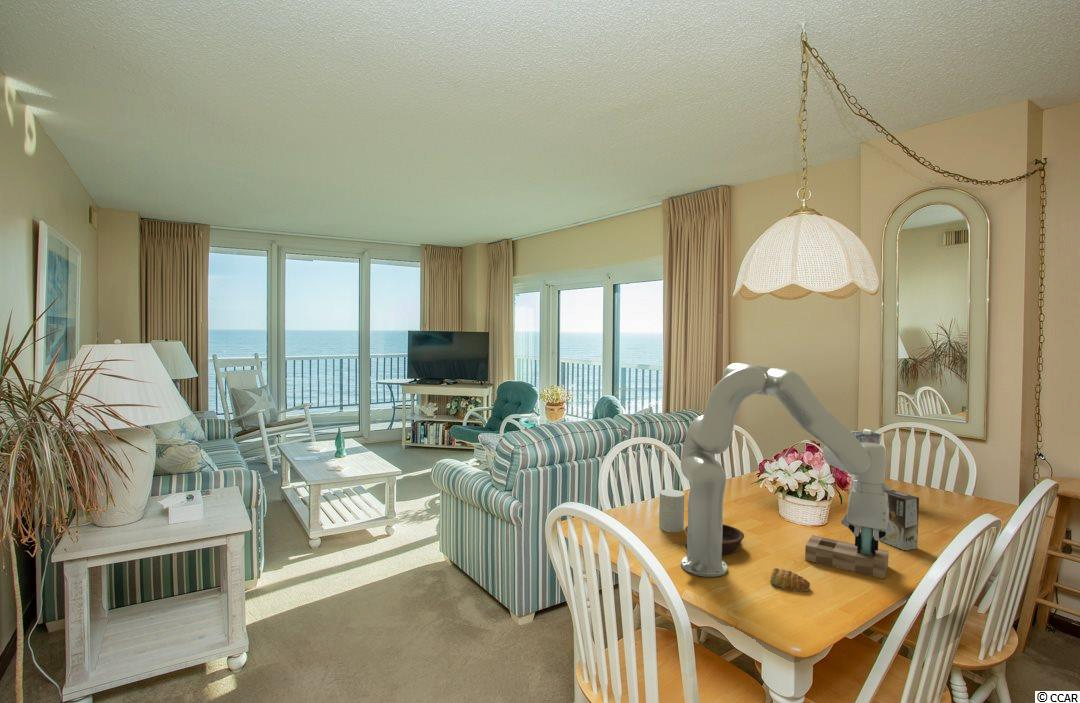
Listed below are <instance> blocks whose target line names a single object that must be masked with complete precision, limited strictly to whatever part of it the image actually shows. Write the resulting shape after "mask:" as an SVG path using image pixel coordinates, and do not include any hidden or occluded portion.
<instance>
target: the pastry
mask: <svg viewBox="0 0 1080 703" xmlns="http://www.w3.org/2000/svg"><path fill="white" fill-rule="evenodd" d="M769 582H770V583H771V584H772V585H773V586H774V585H775V586H774V587H776V586H777V587H776V588H779V587H780V588H782V589H783V588H784V589H783V590H787V589H789V591H793V590H796V591H795V592H799V591H801V592H808V591H809V590H810V586H811V583H810V582H809V581H808V580H807V579H806V578H804V577H803V576H801V575H799V574H797V573H794V572H792V571H791V570H786V569H785V568H782V569H779V568H778V567H773V569H772V572H771V576H770V580H769Z"/></svg>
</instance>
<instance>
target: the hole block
mask: <svg viewBox="0 0 1080 703" xmlns="http://www.w3.org/2000/svg"><path fill="white" fill-rule="evenodd" d="M804 549H805V551H804V552H805V554H804V555H805V556H804V557H805V558H804V561H806V560H807V561H806V562H810V561H812V562H811V563H814V562H816V563H815V564H819V563H820V565H823V564H824V565H825V566H827V565H829V566H828V567H831V566H833V568H836V567H838V568H837V569H840V568H842V569H841V570H844V569H847V570H846V571H848V570H851V571H850V572H853V571H855V572H854V573H857V572H859V573H858V574H861V573H863V574H862V575H865V574H868V575H867V576H870V575H872V576H871V577H874V576H876V577H875V578H878V577H881V578H880V579H882V578H885V579H886V575H887V572H888V569H887V568H889V550H885V549H881V548H878V551H876V550H875V554H872V556H868V555H864V554H860V550H859V551H858V550H857V546H855V543H852V542H847V541H843V540H839V539H833V538H830V537H829V538H828V537H823V536H819V535H814V534H812V535H811V536H810V538H809V539H808V541H806V544H805V548H804ZM824 565H823V566H824Z"/></svg>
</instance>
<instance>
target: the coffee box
mask: <svg viewBox="0 0 1080 703" xmlns="http://www.w3.org/2000/svg"><path fill="white" fill-rule="evenodd" d="M885 493H887V495H888V501H889V521H890V523H891V525H892V527H893V529H894V533H893V534H889V535H885V536H884V537H882V538H880V539H879V541H878V542H881V541H882V543H883V542H884V543H883V544H886V543H887V544H886V545H889V546H891V545H892V547H894V546H895V547H894V548H896V547H897V548H896V549H899V548H900V549H899V550H901V549H902V550H903V551H904V550H906V551H910V549H911V550H916V549H918V546H919V544H918V542H919V517H920V516H919V513H920V512H919V510H920V508H919V507H920V506H919V505H920V497H918V496H915V495H911V494H909V493H904V492H901V491H897V490H894V489H890V491H885ZM880 531H882V530H880ZM902 550H901V551H902Z"/></svg>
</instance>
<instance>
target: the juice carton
mask: <svg viewBox="0 0 1080 703" xmlns="http://www.w3.org/2000/svg"><path fill="white" fill-rule="evenodd" d="M850 431H851V432H852V433H853V435H854V436H855V437H856V438H857V439H858V440H859V442H860V443H863V442H866V443H876V444H880V436H881V434H880V433H877V432H874V431H872V430H871V429H867V428H864V429H863V430H859V431H855V430H850ZM850 475H851V480H852V483H851V488H853V487H854V475H852V474H850ZM850 490H851V489H850ZM847 493H849V494H850V491H849V492H847Z"/></svg>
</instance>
